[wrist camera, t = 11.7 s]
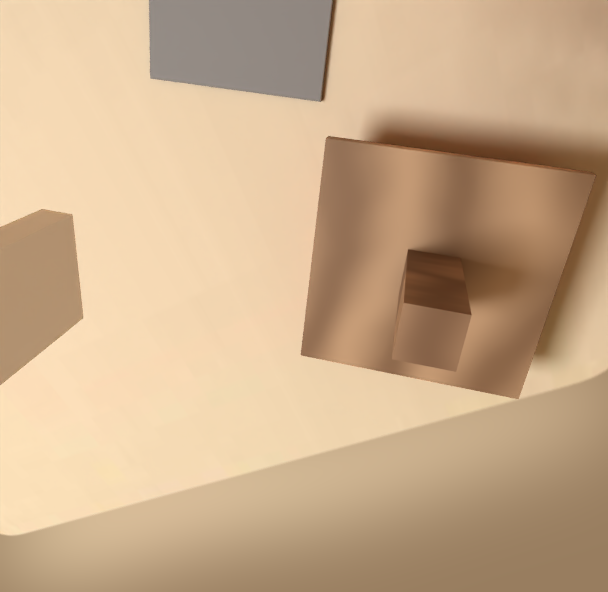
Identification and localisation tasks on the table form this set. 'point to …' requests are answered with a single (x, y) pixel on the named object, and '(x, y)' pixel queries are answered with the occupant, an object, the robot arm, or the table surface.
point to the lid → (437, 262)
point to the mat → (242, 44)
